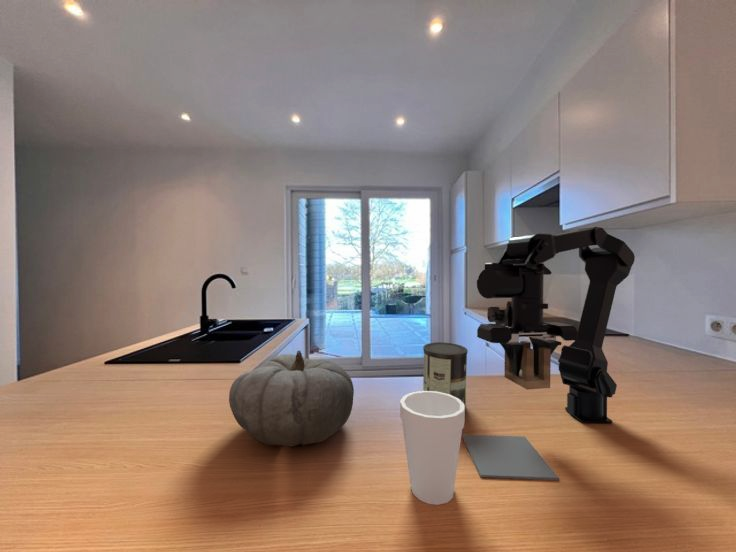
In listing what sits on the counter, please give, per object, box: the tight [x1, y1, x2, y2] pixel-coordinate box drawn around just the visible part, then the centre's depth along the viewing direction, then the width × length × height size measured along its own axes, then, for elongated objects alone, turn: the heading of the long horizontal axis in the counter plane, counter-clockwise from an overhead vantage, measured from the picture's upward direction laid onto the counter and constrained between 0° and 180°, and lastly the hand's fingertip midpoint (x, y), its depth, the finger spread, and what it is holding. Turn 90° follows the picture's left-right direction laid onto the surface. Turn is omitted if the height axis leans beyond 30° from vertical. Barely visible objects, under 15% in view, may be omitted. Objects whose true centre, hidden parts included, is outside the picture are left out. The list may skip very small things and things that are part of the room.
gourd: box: [228, 350, 355, 447], centre depth 64 cm, size 25×25×17 cm
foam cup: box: [399, 390, 466, 506], centre depth 46 cm, size 10×9×13 cm
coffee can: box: [422, 341, 469, 410], centre depth 74 cm, size 10×10×14 cm
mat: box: [461, 434, 560, 481], centre depth 54 cm, size 12×12×1 cm
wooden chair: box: [504, 340, 552, 390], centre depth 62 cm, size 7×5×8 cm
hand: (526, 374), depth 62 cm, fingers closed on wooden chair, 4 cm apart
